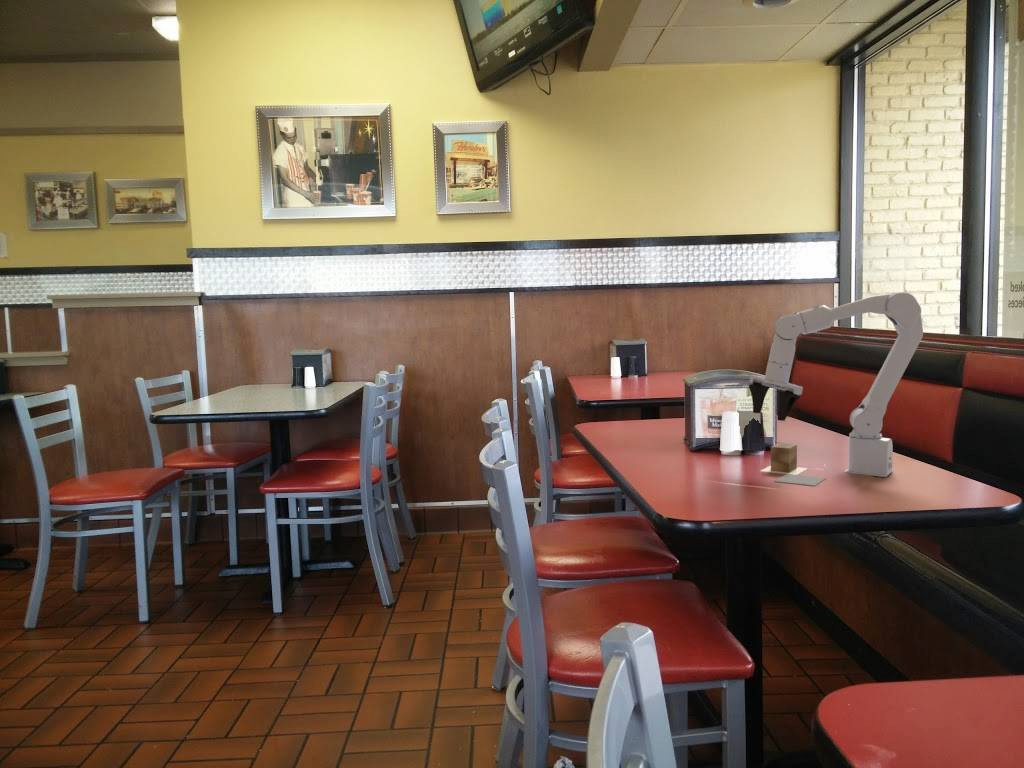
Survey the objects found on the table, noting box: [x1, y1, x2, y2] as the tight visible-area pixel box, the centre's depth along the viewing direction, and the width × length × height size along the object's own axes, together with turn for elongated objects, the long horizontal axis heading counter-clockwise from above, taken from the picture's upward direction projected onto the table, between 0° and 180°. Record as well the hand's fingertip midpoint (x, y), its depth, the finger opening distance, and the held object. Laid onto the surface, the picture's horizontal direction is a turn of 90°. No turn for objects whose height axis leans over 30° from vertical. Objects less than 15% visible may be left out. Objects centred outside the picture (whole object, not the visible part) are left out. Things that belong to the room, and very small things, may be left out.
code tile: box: [760, 464, 808, 475], centre depth 191 cm, size 9×9×1 cm
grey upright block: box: [735, 408, 761, 437], centre depth 218 cm, size 6×4×12 cm
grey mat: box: [774, 474, 827, 487], centre depth 179 cm, size 9×9×1 cm
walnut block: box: [770, 442, 798, 473], centre depth 191 cm, size 4×6×6 cm
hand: (768, 416), depth 193 cm, fingers open, 7 cm apart
